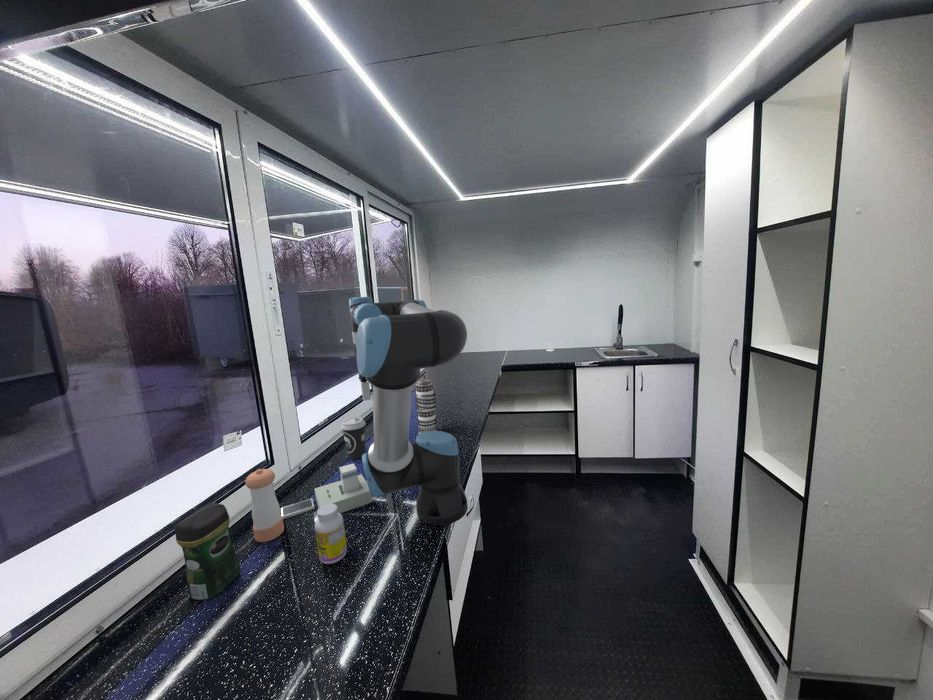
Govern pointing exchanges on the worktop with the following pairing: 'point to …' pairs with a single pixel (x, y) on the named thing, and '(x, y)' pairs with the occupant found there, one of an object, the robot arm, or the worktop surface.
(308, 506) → the phone
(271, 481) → the pepper shaker
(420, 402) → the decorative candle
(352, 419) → the coffee cup
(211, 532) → the coffee jar
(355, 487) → the block
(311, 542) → the worktop surface
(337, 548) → the supplement bottle
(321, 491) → the outlet plate
